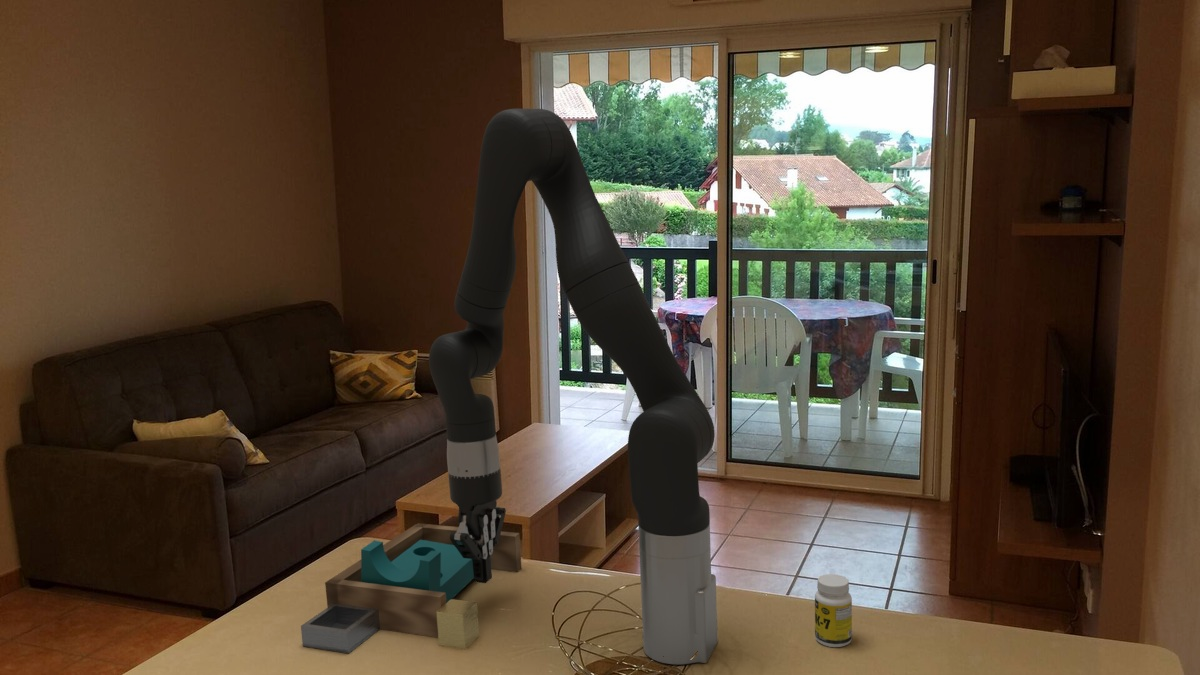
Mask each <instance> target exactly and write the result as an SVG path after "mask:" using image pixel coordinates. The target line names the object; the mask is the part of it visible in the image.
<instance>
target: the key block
mask: <svg viewBox="0 0 1200 675" xmlns="http://www.w3.org/2000/svg"><path fill="white" fill-rule="evenodd" d="M477 603H478V602H476V601H469V600H461V599H455V598H452V599H451V600H449V601H448V602H447V603H446V604H445V605H443V606H442V607H441V608H440V609H439V610H437V611H436V612H437V625H438V637H437V638H438V646H439V647H440V646H441V647H446V648H452V649H457V650H458V649H459V650H466V649H468V647H469V646H471V644H473V642H475V641H476V640H477V638H479V637H480V632H479V631H480V630H479V620H478V619H479V618H478V604H477Z"/></svg>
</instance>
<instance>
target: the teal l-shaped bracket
mask: <svg viewBox="0 0 1200 675" xmlns="http://www.w3.org/2000/svg"><path fill="white" fill-rule="evenodd" d="M383 545H384V541H380V540H373V541H371V542H370V543H368V544H367V545H366V546H364V547H362V549H360V551H361V552H360V553H361V554H360V555H361V556H360V558H361V559H360V560H361V582H364V583H372V584H380V585H388V586H396V587H404V588H412V589H420V590H428V591H436V592H444V593H446V603H447V602H448V601H449V600H451V599H454V598H455V597H456V595H458V594H459V593H460V592H461V591H462V590H463V589H464V588H465V587H466V586H467V585H468V584H469V583H470V582H471V581H472V580H474V573H473V561H472V559H467V558H463V557H462V555H461V554H460V553H459V551H458V550H457V548H456V547H455V546H454V545H449V544H443V543H437V542H431V541H426V540H419V541H418V542H416V543H415V544H414V545H413V546H411V547H410V548H409V549H407V550H406V551H405V552H403V553H402V554H401V555H400V556H398V557H397V558H396V559H394V560H393V561H392V562H390V561H389V559H388V558H387V556H386V554H385V551H384V548H383Z"/></svg>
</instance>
